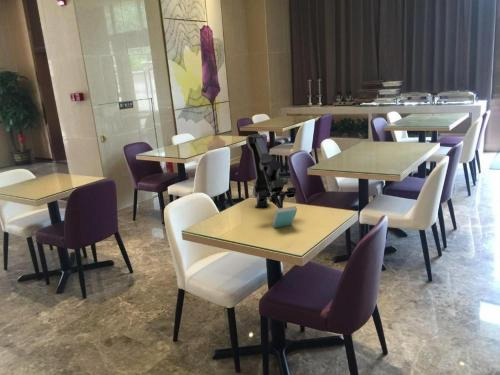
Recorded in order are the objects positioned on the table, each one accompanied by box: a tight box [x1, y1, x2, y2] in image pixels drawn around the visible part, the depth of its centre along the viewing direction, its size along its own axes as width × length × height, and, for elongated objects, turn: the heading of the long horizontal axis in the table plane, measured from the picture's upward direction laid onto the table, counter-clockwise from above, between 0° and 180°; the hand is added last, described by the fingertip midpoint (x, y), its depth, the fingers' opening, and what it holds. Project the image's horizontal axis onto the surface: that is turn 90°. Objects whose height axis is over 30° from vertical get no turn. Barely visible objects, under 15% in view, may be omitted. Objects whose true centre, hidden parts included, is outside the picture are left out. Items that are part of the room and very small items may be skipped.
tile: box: [271, 205, 298, 229], centre depth 195 cm, size 2×9×13 cm
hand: (281, 210), depth 198 cm, fingers closed
